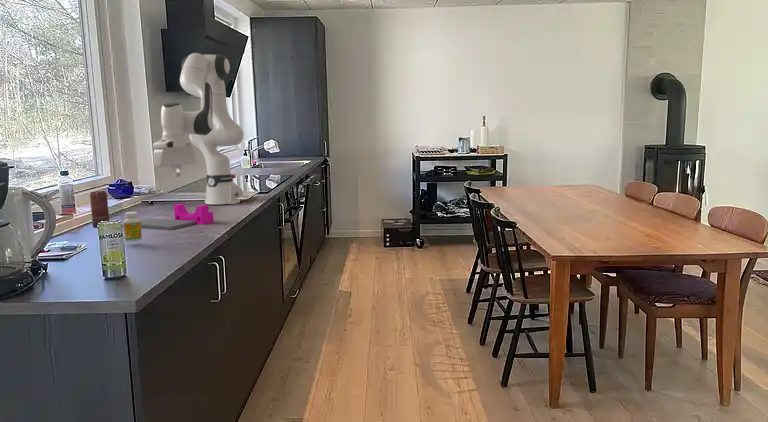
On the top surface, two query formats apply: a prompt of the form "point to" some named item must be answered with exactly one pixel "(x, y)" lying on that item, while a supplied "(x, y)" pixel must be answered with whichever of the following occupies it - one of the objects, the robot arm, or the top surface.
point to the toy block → (194, 214)
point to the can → (99, 207)
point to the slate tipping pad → (165, 223)
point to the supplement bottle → (132, 227)
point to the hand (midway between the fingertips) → (176, 176)
